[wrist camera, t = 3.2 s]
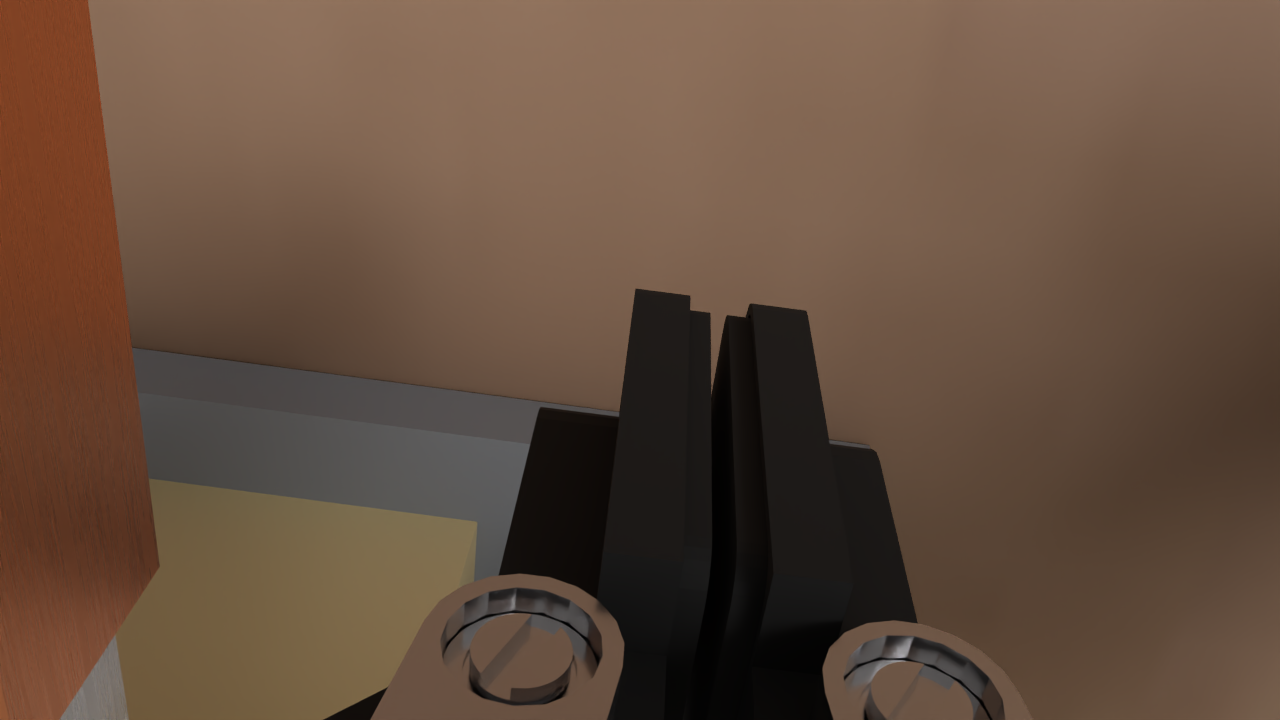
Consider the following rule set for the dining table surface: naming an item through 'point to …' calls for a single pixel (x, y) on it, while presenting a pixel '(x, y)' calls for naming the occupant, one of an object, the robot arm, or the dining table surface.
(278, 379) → the valve base
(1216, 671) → the dining table surface
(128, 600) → the valve lever
